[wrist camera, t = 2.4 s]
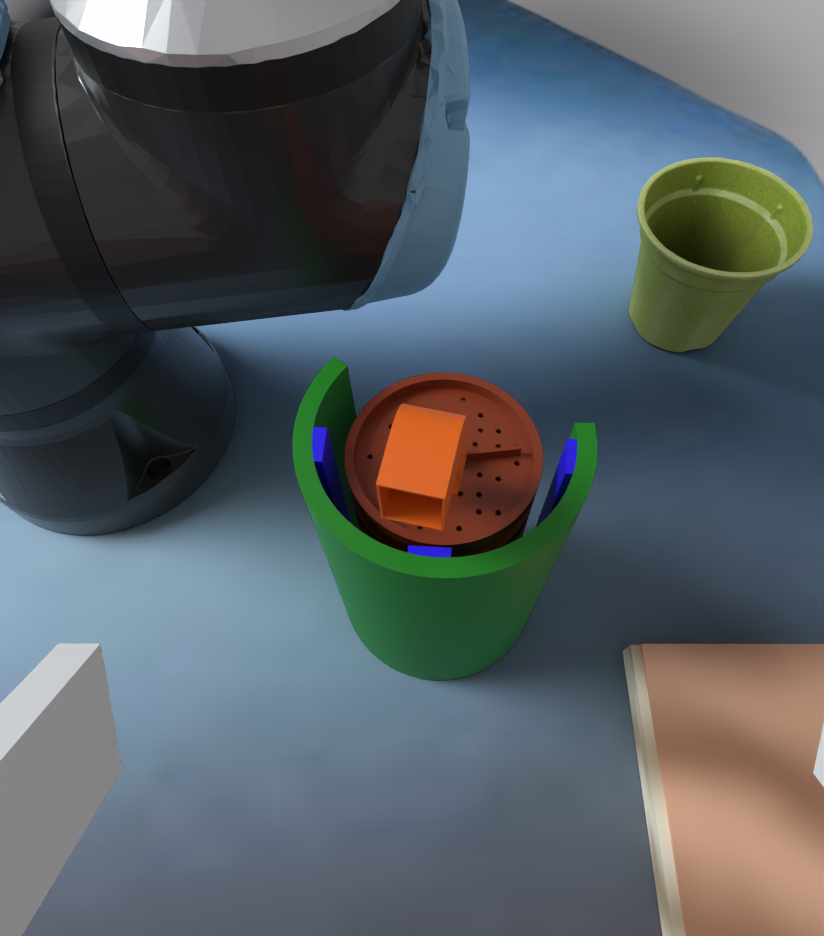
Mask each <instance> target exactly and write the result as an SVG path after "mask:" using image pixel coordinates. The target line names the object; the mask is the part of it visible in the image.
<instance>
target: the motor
mask: <svg viewBox="0 0 824 936" xmlns="http://www.w3.org/2000/svg"><path fill="white" fill-rule="evenodd" d="M462 400H466V401H462ZM292 453H293V463H294V468H295V473H296V477H297V480H298V483H299V486H300V489H301V491H302V494H303V497H304V499H305V502H306V504H307V507H308V510H309V512H310V515H311V518H312V520H313V523H314V526H315V528H316V531H317V533H318V536H319V539H320V541H321V544H322V547H323V549H324V552H325V555H326V557H327V560H328V562H329V565H330V568H331V570H332V573H333V576H334V578H335V581H336V584H337V586H338V589H339V591H340V594H341V597H342V599H343V602H344V605H345V607H346V610H347V613H348V615H349V618H350V620H351V623H352V625H353V627H354V629H355V631H356V633H357V635H358V636H359V638H360V639H361V641H362V642H363V643H364V645H365V646H366V647H367V648H368V649H369V650H370V651H371V652H372V653H373V654H374V655H375V656H376V657H377V658H378V659H380V660H381V661H382V662H384V663H385V664H387V665H388V666H390V667H391V668H393V669H395V670H397V671H399V672H402V673H404V674H407V675H410V676H413V677H417V678H422V679H428V680H450V679H457V678H462V677H465V676H469V675H472V674H474V673H477V672H479V671H481V670H483V669H485V668H487V667H489V666H490V665H492V664H493V663H495V662H496V661H497V660H499V659H500V658H501V657H502V656H503V655H504V654H505V653H506V652H507V651H508V650H509V649H510V648H511V647H512V646H513V644H514V643H515V642H516V640H517V639H518V637H519V635H520V634H521V632H522V630H523V628H524V626H525V624H526V622H527V620H528V618H529V616H530V614H531V612H532V609H533V607H534V605H535V603H536V601H537V599H538V597H539V595H540V593H541V591H542V589H543V587H544V585H545V583H546V580H547V578H548V576H549V574H550V572H551V570H552V568H553V566H554V564H555V562H556V560H557V558H558V556H559V554H560V551H561V549H562V547H563V545H564V543H565V541H566V539H567V537H568V535H569V533H570V531H571V529H572V527H573V525H574V522H575V520H576V518H577V516H578V514H579V512H580V510H581V508H582V506H583V504H584V502H585V500H586V498H587V495H588V493H589V490H590V488H591V485H592V482H593V479H594V474H595V470H596V463H597V434H596V428H595V423H574V426H573V429H572V432H571V434H570V437H569V439H567V442H566V444H565V447H564V450H563V453H562V455H561V458H560V461H559V464H558V467H557V469H556V472H555V475H554V478H553V480H552V483H551V486H550V489H549V492H548V494H547V497H546V500H545V503H544V505H543V508H542V511H541V514H540V517H539V519H538V522H537V525H536V527H535V528H534V529H533V530H532V531H530V532H529V533H527V534H526V535H524V536H523V537H522V535H523V532H524V529H525V526H526V523H527V519H528V516H529V513H530V510H531V507H532V504H533V501H534V497H535V495H536V492H537V489H538V486H539V483H540V479H541V475H542V469H543V451H542V444H541V440H540V437H539V434H538V431H537V429H536V427H535V425H534V423H533V421H532V419H531V418H530V416H529V415H528V413H527V412H526V411H525V409H524V408H523V407H522V406H521V405H520V404H519V403H518V402H517V401H516V400H515V399H514V398H513V397H512V396H510V395H509V394H508V393H506V392H505V391H503V390H502V389H500V388H499V387H497V386H495V385H493V384H491V383H489V382H487V381H484V380H482V379H479V378H476V377H472V376H468V375H463V374H457V373H429V374H423V375H418V376H414V377H410V378H407V379H404V380H402V381H399V382H397V383H395V384H393V385H391V386H389V387H387V388H386V389H384V390H383V391H381V392H380V393H378V394H377V395H376V396H375V397H373V398H372V399H371V400H370V401H369V402H368V403H367V404H366V405H365V406H364V408H363V409H362V410H361V411H360V413H359V414H358V416H357V417H356V412H355V406H354V401H353V395H352V389H351V384H350V378H349V372H348V367H347V365H345V364H344V363H342V362H341V361H339V360H338V359H337V358H335V357H333V358H332V359H331V360H330V361H329V362H328V363H327V364H326V365H325V366H324V367H323V368H322V369H321V371H320V372H319V373H318V374H317V376H316V377H315V378H314V380H313V381H312V383H311V384H310V386H309V388H308V389H307V391H306V393H305V395H304V397H303V399H302V402H301V404H300V407H299V409H298V413H297V416H296V420H295V424H294V430H293V440H292Z"/></svg>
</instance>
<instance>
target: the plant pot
mask: <svg viewBox="0 0 824 936" xmlns="http://www.w3.org/2000/svg"><path fill="white" fill-rule="evenodd" d="M637 217H638V222H639V225H640V237H641V244H640V250H639V256H638V262H637V268H636V273H635V279H634V284H633V289H632V294H631V299H630V305H629V315H630V317H631V319H632V321H633V324H634V326H635V328H636V331H637V333H638V334H639V335H640V336H641V337H642V338H643V339H645V340H646V341H647V342H649V343H651V344H652V345H654V346H657V347H659V348H662V349H665V350H668V351H673V352H684V351H688V350H692V349H699V348H705V347H707V346H709V345H710V344H712V343H713V342H714V341H715V340H716V339H717V338H718V337H719V335H720V334H721V333H722V332H723V331H724V330H725V328H726V327H727V326H728V325H729V324H730V323H731V321H732V320H733V319H734V318H735V317H736V316H737V315H738V313H739V312H740V311H741V310H742V309H743V308H744V307H745V305H746V304H747V303H748V302H749V301H750V300H751V299H752V297H753V296H754V295H755V294H756V293H757V292H758V290H759V289H760V288H761V287H762V286H763V285H764V284H765V283H766V282H768V281H770V280H771V279H773V278H774V277H775V276H776V275H778V274H779V273H781V272H783V271H785V270H787V269H788V268H790V267H791V266H793V265H794V264H795V263H796V262H798V261H799V260H800V258H801V257H802V256H803V255H804V253H805V252H806V251H807V249H808V247H809V246H810V243H811V240H812V237H813V221H812V216H811V213H810V210H809V208H808V206H807V204H806V203H805V201H804V200H803V198H802V197H801V196H800V194H799V193H798V192H797V191H796V190H795V189H793V188H792V187H791V186H790V185H788V184H787V183H786V182H785V181H783V180H782V179H781V178H779V177H778V176H776V175H774V174H773V173H771V172H769V171H767V170H765V169H763V168H760V167H757V166H754V165H752V164H749V163H745V162H742V161H737V160H731V159H725V158H714V157H713V158H694V159H688V160H684V161H680V162H677V163H674V164H671V165H669V166H667V167H665V168H663V169H661V170H660V171H658V172H657V173H655V174H654V175H653V176H652V177H651V178H650V179H649V180H648V181H647V182H646V184H645V185H644V187H643V189H642V191H641V193H640V196H639V200H638V205H637Z"/></svg>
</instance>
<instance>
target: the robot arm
mask: <svg viewBox="0 0 824 936" xmlns="http://www.w3.org/2000/svg"><path fill="white" fill-rule="evenodd" d="M50 2H51V5H52V8H53V10H54V13H55V15H56V17H53V18H44V19H36V20H29V21H13V20H11V19H10V16H9V14H8V12H7V11H8V7H7V5H6V3H5V1H4V0H0V502H2V503H3V504H4V505H6V506H7V507H9V508H10V509H11V510H13V511H14V512H15V513H17V514H18V515H20V516H21V517H22V518H24V519H25V520H27V521H29V522H31V523H33V524H35V525H37V526H39V527H42V528H45V529H48V530H51V531H55V532H60V533H65V534H75V535H93V534H103V533H109V532H115V531H119V530H123V529H127V528H130V527H133V526H136V525H139V524H141V523H144V522H146V521H149V520H151V519H153V518H155V517H157V516H159V515H161V514H163V513H164V512H166V511H168V510H169V509H171V508H172V507H174V506H175V505H177V504H178V503H180V502H181V501H182V500H184V499H185V498H186V497H187V496H189V495H190V494H191V493H192V492H193V491H194V490H195V489H196V488H197V487H198V486H199V485H200V484H201V483H202V482H203V481H204V480H205V479H206V478H207V476H208V475H209V474H210V473H211V471H212V470H213V469H214V467H215V466H216V464H217V463H218V461H219V460H220V458H221V456H222V454H223V452H224V450H225V448H226V446H227V444H228V441H229V438H230V435H231V432H232V428H233V423H234V416H235V398H234V392H233V388H232V384H231V381H230V378H229V376H228V374H227V372H226V369H225V367H224V365H223V363H222V361H221V359H220V357H219V355H218V353H217V351H216V349H215V348H214V346H213V345H212V344H211V342H210V341H209V340H208V338H207V337H206V336H205V335H204V334H203V333H202V332H201V331H200V330H199V329H198V328H196V327H195V326H204V325H212V324H221V323H229V322H238V321H246V320H255V319H264V318H272V317H281V316H289V315H298V314H307V313H315V312H324V311H332V310H341V309H342V310H344V311H347V310H353V309H358V308H360V307H363V306H364V305H366V304H367V303H372V302H377V301H382V300H387V299H392V298H397V297H402V296H407V295H411V294H415V293H417V292H419V291H421V290H423V289H425V288H426V287H428V286H429V285H430V284H432V283H433V282H434V281H435V279H436V278H437V277H438V276H439V275H440V273H441V272H442V270H443V269H444V267H445V266H446V264H447V261H448V259H449V257H450V255H451V252H452V250H453V247H454V244H455V241H456V237H457V233H458V229H459V225H460V220H461V215H462V209H463V203H464V197H465V189H466V182H467V173H468V161H469V145H470V141H469V133H468V129H467V126H466V122H465V119H466V115H467V110H468V104H469V98H470V72H469V57H468V48H467V40H466V33H465V27H464V22H463V18H462V14H461V10H460V7H459V4H458V1H457V0H50ZM121 770H122V764H121V758H120V752H119V747H118V741H117V735H116V729H115V724H114V718H113V712H112V707H111V701H110V695H109V690H108V684H107V678H106V672H105V667H104V661H103V655H102V650H101V644H58V645H57V646H56V647H55V648H54V649H53V650H52V651H51V652H50V653H49V654H48V655H47V656H46V657H45V658H44V659H43V660H42V661H41V662H40V663H39V664H38V665H37V666H36V667H35V668H34V669H33V670H32V671H31V672H30V674H29V675H28V676H27V677H26V678H25V679H24V680H23V681H22V682H21V683H20V684H19V685H18V686H17V687H16V688H15V689H14V690H13V691H12V692H11V693H10V694H9V695H8V696H7V697H6V698H5V699H4V700H3V701H2V703H1V704H0V936H22V935H23V933H24V932H25V930H26V928H27V927H28V925H29V923H30V922H31V920H32V918H33V917H34V915H35V913H36V912H37V910H38V908H39V907H40V905H41V903H42V902H43V900H44V898H45V897H46V895H47V893H48V892H49V890H50V888H51V887H52V885H53V883H54V882H55V880H56V878H57V877H58V875H59V873H60V872H61V870H62V868H63V867H64V865H65V863H66V862H67V860H68V858H69V857H70V855H71V853H72V852H73V850H74V848H75V847H76V845H77V843H78V842H79V840H80V838H81V837H82V835H83V833H84V832H85V830H86V828H87V827H88V825H89V823H90V822H91V820H92V818H93V817H94V815H95V813H96V812H97V810H98V808H99V807H100V805H101V803H102V802H103V800H104V798H105V797H106V795H107V793H108V792H109V790H110V788H111V787H112V785H113V783H114V782H115V780H116V778H117V777H118V775H119V773H120V772H121ZM813 774H814V775H815V776H816V778H817V779H818V780H819V782H820V783H821V784H822V786H823V787H824V724H823V728H822V733H821V738H820V742H819V747H818V752H817V757H816V761H815V766H814V771H813Z"/></svg>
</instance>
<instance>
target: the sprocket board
mask: <svg viewBox="0 0 824 936" xmlns="http://www.w3.org/2000/svg"><path fill="white" fill-rule="evenodd" d="M623 658H624V665H625V672H626V680H627V687H628V694H629V701H630V708H631V715H632V722H633V729H634V736H635V743H636V750H637V757H638V765H639V772H640V779H641V786H642V793H643V800H644V807H645V814H646V821H647V828H648V835H649V843H650V850H651V857H652V864H653V871H654V878H655V885H656V892H657V899H658V906H659V913H660V920H661V928H662V935H663V936H824V787H823V786H822V784H821V783H820V782H819V780H818V779H817V778H816V776H815V775H814V774H813V771H814V766H815V761H816V757H817V752H818V747H819V742H820V738H821V733H822V728H823V724H824V644H641V645H629V646H628V647H627V648H626V649H625V650H623Z"/></svg>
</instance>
